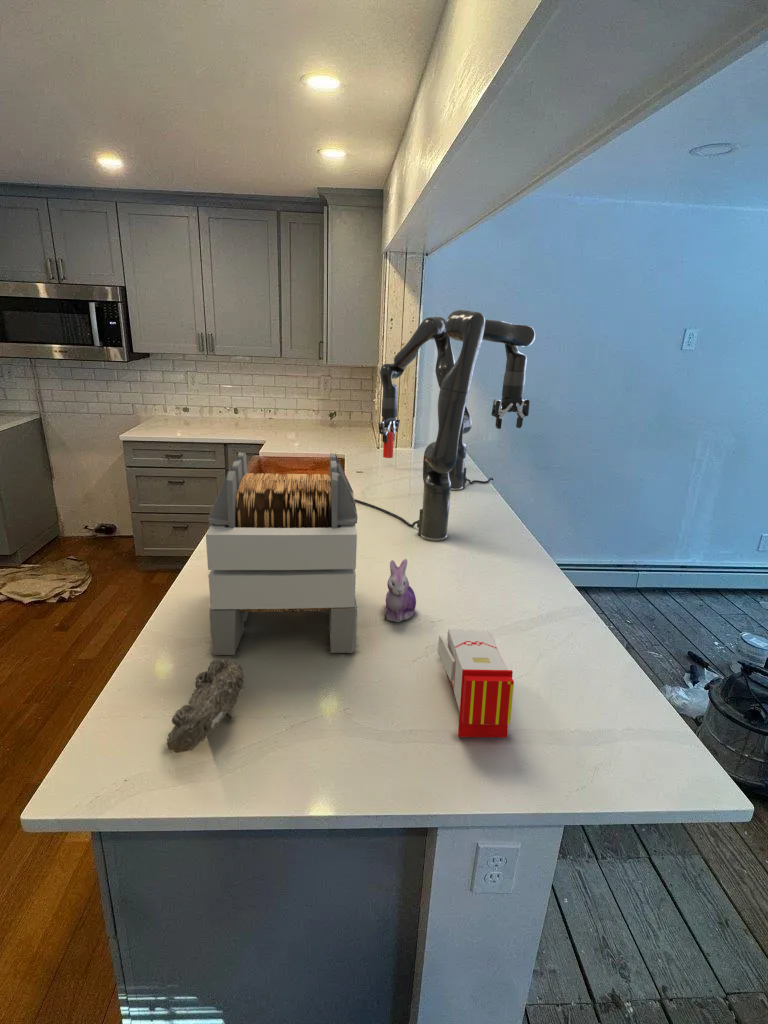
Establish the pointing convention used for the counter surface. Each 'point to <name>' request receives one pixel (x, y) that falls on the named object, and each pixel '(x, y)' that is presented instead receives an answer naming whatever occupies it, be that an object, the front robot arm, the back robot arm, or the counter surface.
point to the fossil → (206, 705)
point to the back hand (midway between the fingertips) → (388, 441)
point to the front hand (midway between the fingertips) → (508, 428)
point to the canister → (388, 445)
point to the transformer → (282, 551)
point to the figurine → (399, 594)
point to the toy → (478, 682)
